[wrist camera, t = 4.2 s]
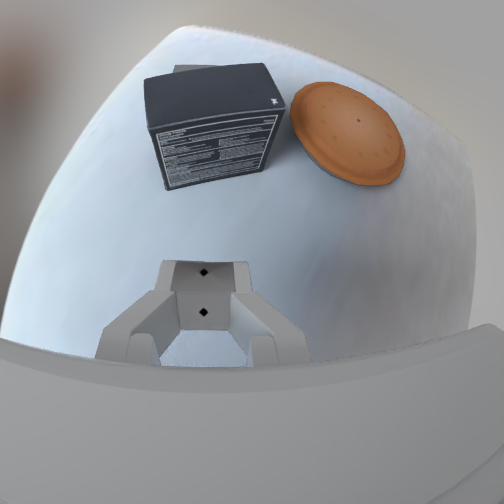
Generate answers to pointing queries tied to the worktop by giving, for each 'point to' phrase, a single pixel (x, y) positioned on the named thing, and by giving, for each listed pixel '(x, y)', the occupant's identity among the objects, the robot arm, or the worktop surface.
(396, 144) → the pie
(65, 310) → the worktop surface
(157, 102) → the small box
